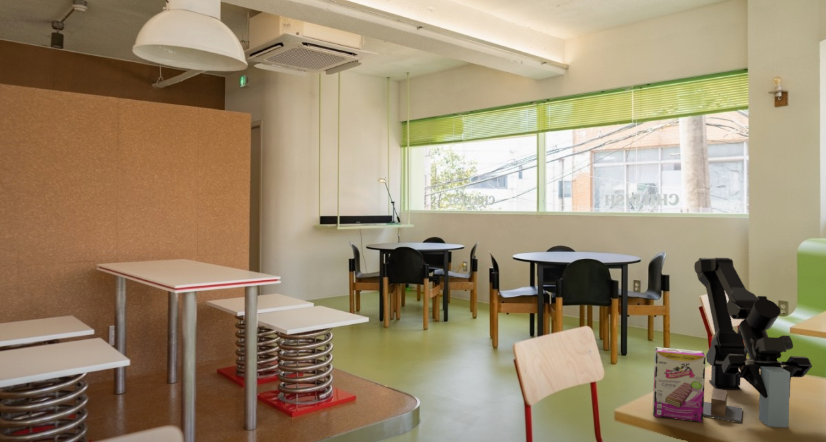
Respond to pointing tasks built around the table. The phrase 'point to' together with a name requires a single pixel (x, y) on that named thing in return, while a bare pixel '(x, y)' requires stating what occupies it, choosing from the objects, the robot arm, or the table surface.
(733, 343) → the robot arm
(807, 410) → the table surface
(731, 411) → the mat
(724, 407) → the ridge
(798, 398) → the table surface
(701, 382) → the candy bar box
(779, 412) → the block
